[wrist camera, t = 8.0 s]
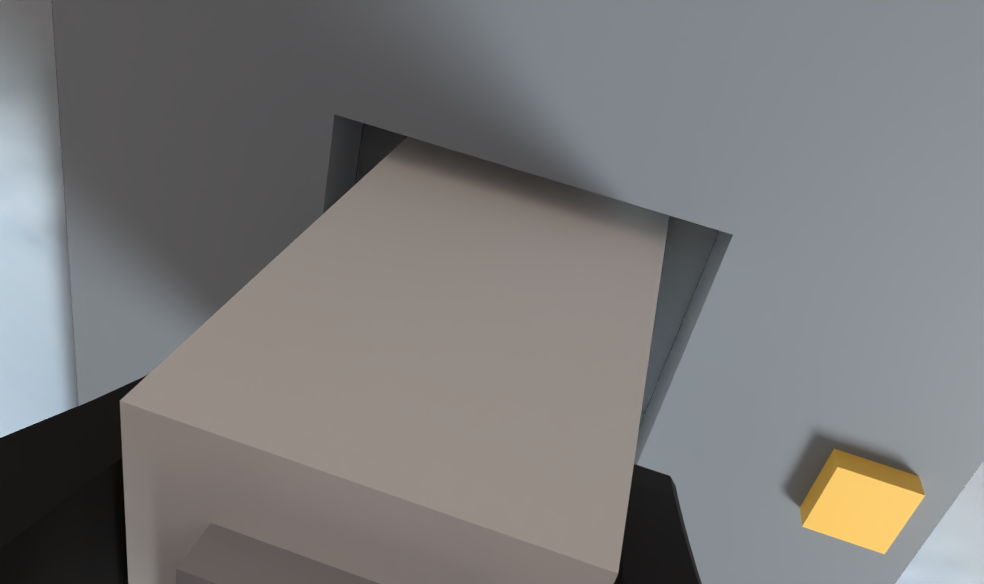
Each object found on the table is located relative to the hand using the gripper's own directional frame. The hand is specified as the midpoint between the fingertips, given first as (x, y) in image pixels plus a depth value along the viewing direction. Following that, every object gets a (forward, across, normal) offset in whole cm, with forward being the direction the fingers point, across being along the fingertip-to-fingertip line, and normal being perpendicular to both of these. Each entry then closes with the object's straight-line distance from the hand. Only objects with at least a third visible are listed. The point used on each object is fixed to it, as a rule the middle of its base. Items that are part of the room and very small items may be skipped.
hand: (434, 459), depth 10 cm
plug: (+4, 0, 0) cm, 4 cm away
